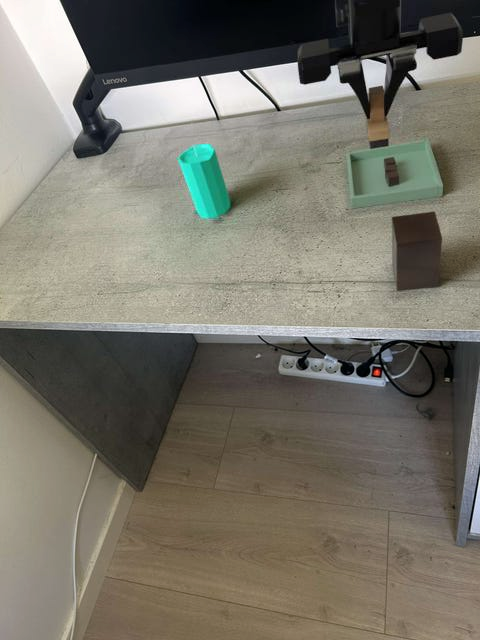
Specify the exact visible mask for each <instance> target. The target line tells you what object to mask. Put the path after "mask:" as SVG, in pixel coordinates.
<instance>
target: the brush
mask: <svg viewBox="0 0 480 640" xmlns="http://www.w3.org/2000/svg"><path fill="white" fill-rule="evenodd" d="M368 100H369V105H370V119H367V117H366V115H365V114H364V115H365V116H364V119H365V125H366V133H367V138H368V145H369V149H374V148H380V147H387V146H389V144H390V143H389V140H390V126H389V125H390V124H389V122H388V115H387V116H384V85H377V86H371V87H368Z"/></svg>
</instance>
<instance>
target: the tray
mask: <svg viewBox="0 0 480 640" xmlns="http://www.w3.org/2000/svg"><path fill="white" fill-rule="evenodd" d="M345 157H346V166H347V178H348V188H349V189H348V190H349V199H350V209H351V210H353V209H360V208H367V207H374V206H375V207H376V206H383V205H388V204H396V203H403V202H411V201H419V200H425V199H432V198H440V197H443V195H444V182H443V180H442V176H441V174H440V170H439V168H438V165H437V161H436V158H435V155H434V152H433V148H432V145H431V141H430V139H429V138H426V139H421V140H420V139H419V140H414V141H408V142H402V143H396V144H390V145H389V146H387V147H380V148H374V149H370V148H366V149H359V150H353V151H347V152H345ZM390 157H394V159H395V161H396V164H397V173H398V175H399V185H395V186H391V187H389V186H388V184H387V182H386V179H385V169H384V159H385V158H390Z"/></svg>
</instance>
